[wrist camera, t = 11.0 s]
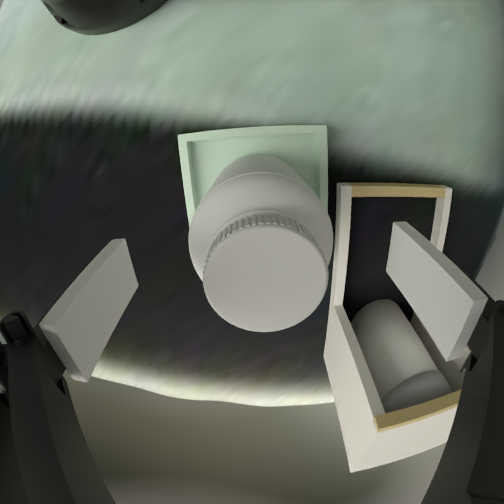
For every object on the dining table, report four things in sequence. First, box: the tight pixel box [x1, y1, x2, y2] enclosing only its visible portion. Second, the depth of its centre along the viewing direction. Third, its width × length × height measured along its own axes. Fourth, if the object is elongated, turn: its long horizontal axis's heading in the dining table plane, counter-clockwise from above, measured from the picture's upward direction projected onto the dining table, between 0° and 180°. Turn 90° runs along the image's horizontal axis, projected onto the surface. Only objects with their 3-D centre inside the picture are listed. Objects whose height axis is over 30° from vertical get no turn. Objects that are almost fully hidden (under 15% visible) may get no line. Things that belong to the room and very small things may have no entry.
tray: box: [178, 125, 328, 227], centre depth 25 cm, size 12×12×2 cm
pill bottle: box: [189, 154, 333, 332], centre depth 18 cm, size 8×8×15 cm
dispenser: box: [324, 183, 471, 472], centre depth 22 cm, size 22×13×17 cm, turn 4°
